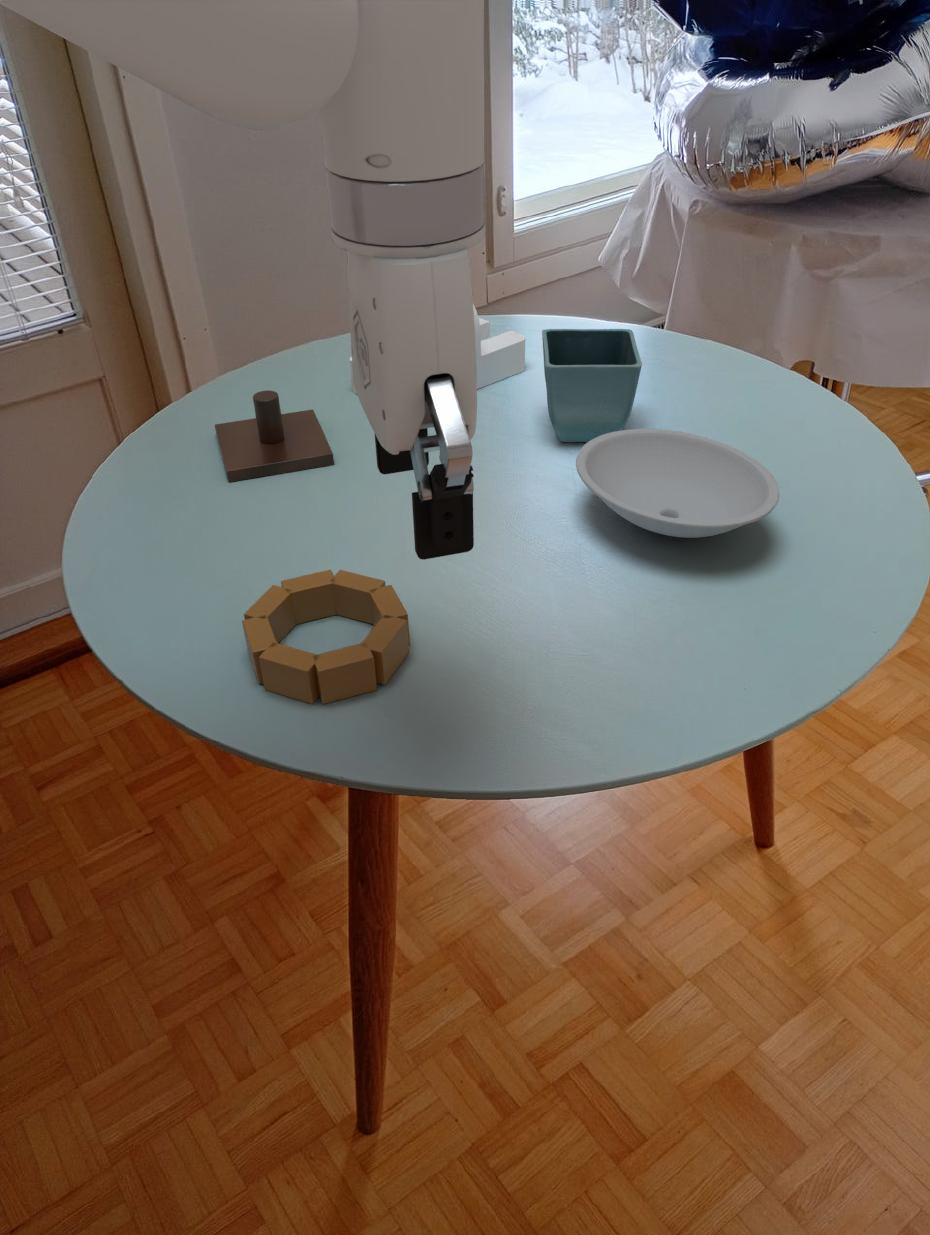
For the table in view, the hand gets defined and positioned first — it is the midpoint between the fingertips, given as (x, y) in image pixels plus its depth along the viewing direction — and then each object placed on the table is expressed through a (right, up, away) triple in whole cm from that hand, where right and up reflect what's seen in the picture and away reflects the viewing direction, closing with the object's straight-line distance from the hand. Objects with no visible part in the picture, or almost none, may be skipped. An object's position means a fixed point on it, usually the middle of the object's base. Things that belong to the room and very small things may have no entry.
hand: (422, 508), depth 58 cm
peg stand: (-16, +10, +38) cm, 43 cm away
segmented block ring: (-7, -9, +14) cm, 18 cm away
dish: (+20, +1, +27) cm, 33 cm away
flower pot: (+14, +12, +40) cm, 44 cm away
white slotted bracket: (0, +20, +51) cm, 54 cm away
